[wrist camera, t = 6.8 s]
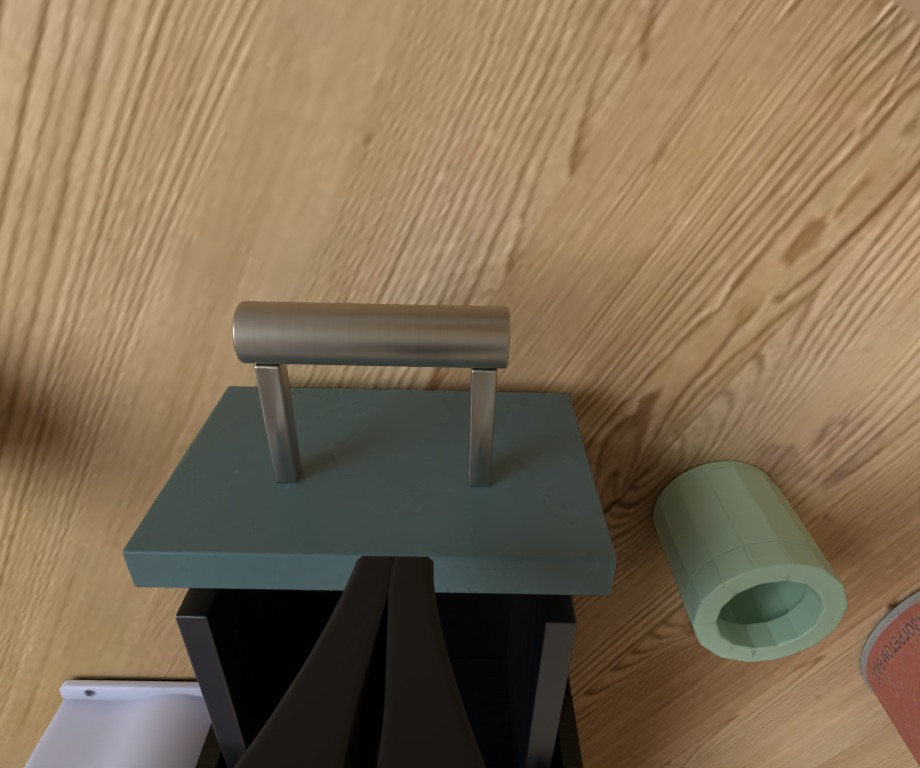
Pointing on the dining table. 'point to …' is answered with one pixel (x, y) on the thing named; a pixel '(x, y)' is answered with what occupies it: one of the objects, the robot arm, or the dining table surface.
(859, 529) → the dining table surface
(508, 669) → the drawer
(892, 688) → the canned food
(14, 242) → the dining table surface
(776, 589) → the jar
